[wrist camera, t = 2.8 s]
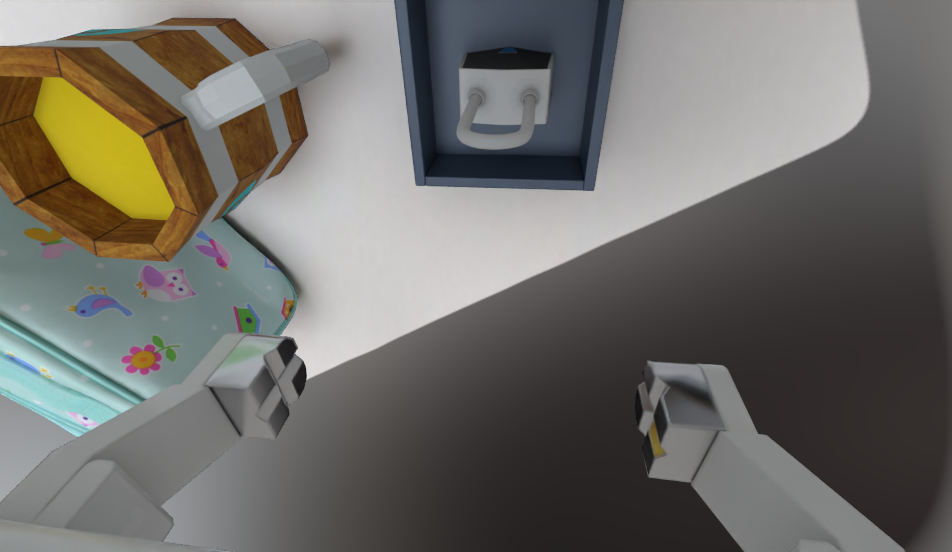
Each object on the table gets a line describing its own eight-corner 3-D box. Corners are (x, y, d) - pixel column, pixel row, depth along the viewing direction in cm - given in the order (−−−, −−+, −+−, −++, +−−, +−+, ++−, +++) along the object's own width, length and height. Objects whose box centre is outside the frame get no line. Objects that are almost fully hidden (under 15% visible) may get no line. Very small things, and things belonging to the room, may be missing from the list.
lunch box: (49, 157, 42) (-292, 290, 24) (86, 90, 37) (-303, 196, 20) (269, 324, 52) (139, 497, 35) (319, 288, 48) (197, 468, 31)
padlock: (465, 105, 33) (425, 183, 21) (464, 46, 31) (417, 96, 19) (550, 107, 33) (557, 188, 21) (555, 46, 30) (567, 98, 18)
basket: (614, -37, 27) (629, -38, 23) (586, 163, 36) (594, 191, 31) (413, -31, 29) (390, -31, 24) (430, 159, 37) (415, 186, 33)
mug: (228, 194, 42) (103, 286, 30) (116, 53, 35) (-105, 98, 23) (397, 123, 35) (325, 203, 23) (302, -66, 29) (133, -89, 17)
